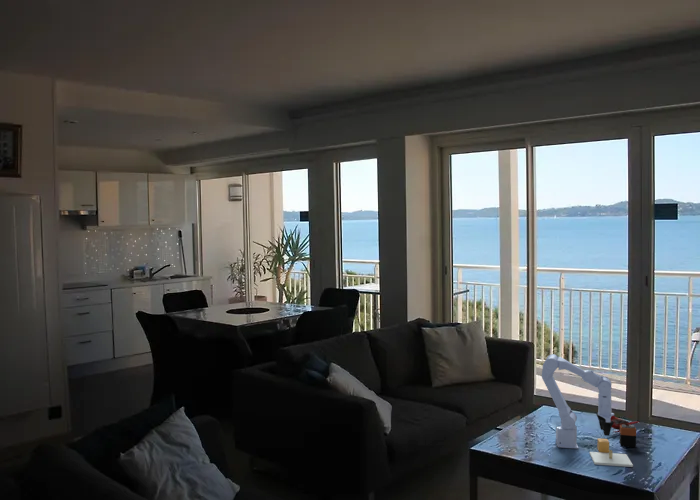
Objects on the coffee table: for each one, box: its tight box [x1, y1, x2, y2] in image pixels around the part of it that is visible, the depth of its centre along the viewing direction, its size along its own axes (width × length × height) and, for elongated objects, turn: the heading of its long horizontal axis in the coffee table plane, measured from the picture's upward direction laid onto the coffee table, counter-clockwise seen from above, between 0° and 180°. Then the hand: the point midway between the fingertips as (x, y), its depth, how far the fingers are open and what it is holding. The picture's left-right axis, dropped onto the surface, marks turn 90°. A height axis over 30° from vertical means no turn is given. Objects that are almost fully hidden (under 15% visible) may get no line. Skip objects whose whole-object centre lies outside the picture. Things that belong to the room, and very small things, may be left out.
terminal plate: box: [589, 449, 634, 468], centre depth 282 cm, size 16×12×4 cm
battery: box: [619, 424, 637, 448], centre depth 299 cm, size 4×7×10 cm, turn 75°
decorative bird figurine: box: [611, 415, 640, 433], centre depth 315 cm, size 3×18×10 cm, turn 82°
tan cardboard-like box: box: [596, 438, 610, 453], centre depth 293 cm, size 4×4×5 cm
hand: (604, 432), depth 292 cm, fingers open, 7 cm apart
